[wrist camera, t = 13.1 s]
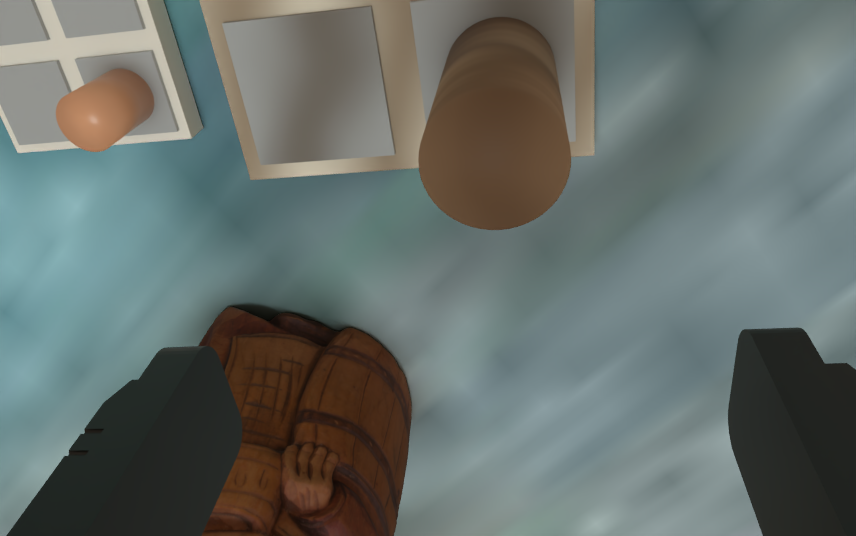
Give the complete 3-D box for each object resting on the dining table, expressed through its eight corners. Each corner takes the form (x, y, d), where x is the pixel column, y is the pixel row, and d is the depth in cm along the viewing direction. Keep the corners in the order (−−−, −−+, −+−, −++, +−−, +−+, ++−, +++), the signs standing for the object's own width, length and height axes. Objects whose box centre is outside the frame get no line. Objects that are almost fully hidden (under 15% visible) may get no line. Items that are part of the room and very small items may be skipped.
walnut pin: (451, 131, 26) (429, 234, 19) (438, 24, 24) (407, 97, 17) (557, 122, 25) (572, 224, 18) (553, 10, 23) (568, 80, 16)
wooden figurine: (440, 349, 33) (374, 767, 18) (409, 435, 37) (332, 846, 22) (208, 283, 33) (-56, 658, 18) (198, 377, 36) (-30, 757, 21)
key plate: (35, 142, 30) (-34, 185, 26) (-55, -56, 26) (-152, -39, 22) (203, 127, 29) (156, 170, 25) (137, -84, 24) (69, -70, 21)
